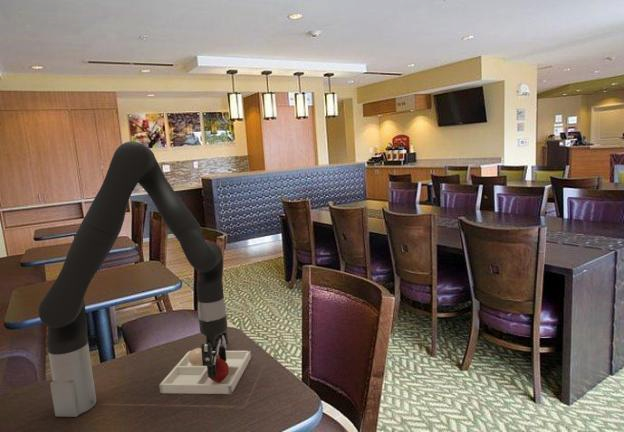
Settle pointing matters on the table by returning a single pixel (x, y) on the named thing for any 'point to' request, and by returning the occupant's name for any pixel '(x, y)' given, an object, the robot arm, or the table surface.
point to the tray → (205, 376)
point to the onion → (220, 370)
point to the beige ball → (196, 357)
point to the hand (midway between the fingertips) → (217, 369)
